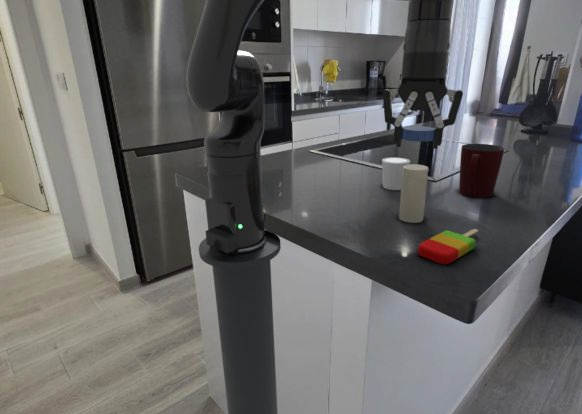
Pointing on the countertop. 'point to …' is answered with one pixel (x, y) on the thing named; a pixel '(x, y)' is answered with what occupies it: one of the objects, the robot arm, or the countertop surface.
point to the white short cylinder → (393, 172)
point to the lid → (418, 133)
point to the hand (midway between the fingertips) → (416, 146)
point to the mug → (479, 169)
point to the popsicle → (447, 246)
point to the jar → (413, 193)
